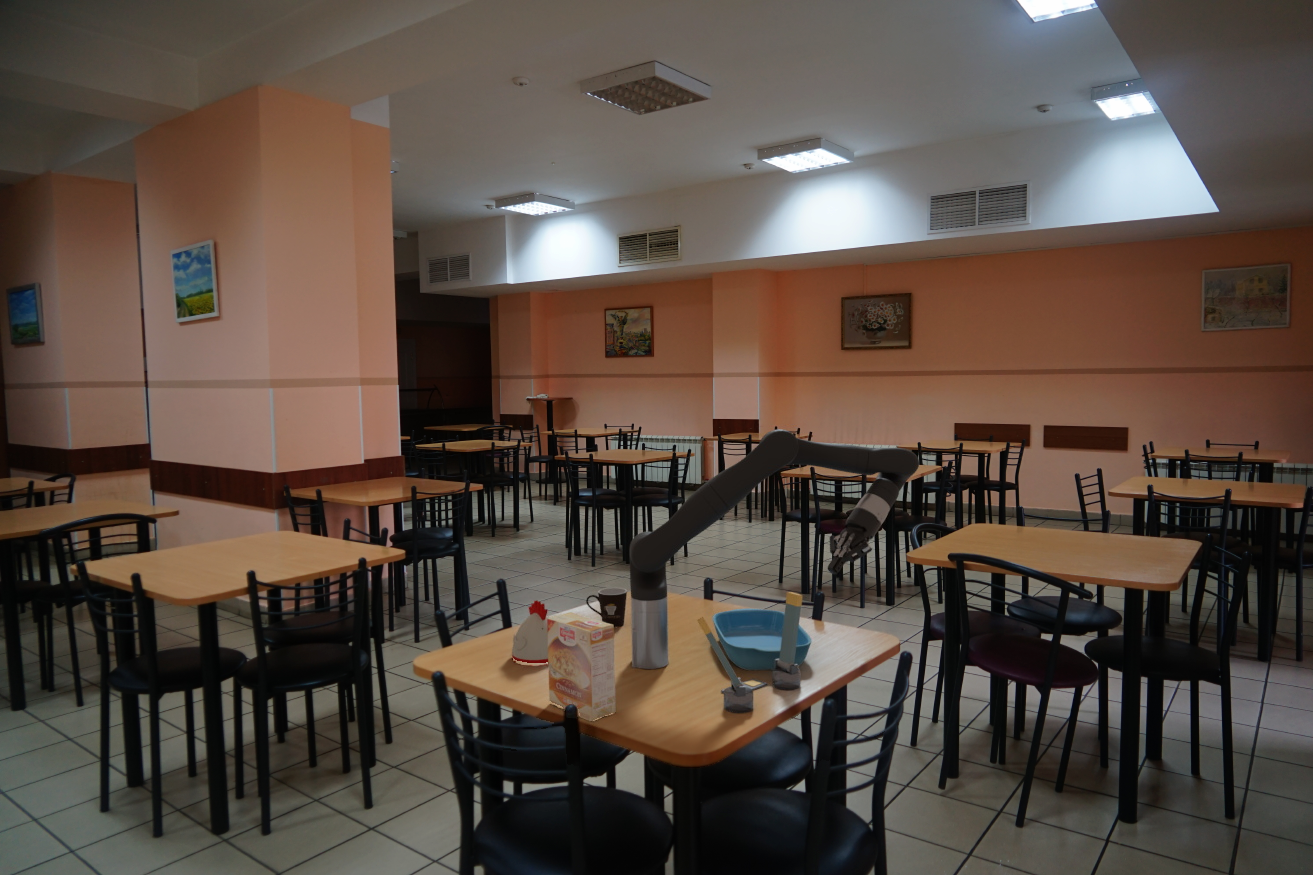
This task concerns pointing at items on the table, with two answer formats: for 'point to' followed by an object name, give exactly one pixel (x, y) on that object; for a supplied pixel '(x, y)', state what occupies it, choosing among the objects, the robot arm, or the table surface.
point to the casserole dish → (756, 637)
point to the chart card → (752, 684)
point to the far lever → (790, 630)
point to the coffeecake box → (581, 664)
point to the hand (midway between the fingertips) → (831, 571)
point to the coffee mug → (611, 605)
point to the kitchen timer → (532, 636)
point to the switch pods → (743, 695)
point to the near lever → (719, 653)
